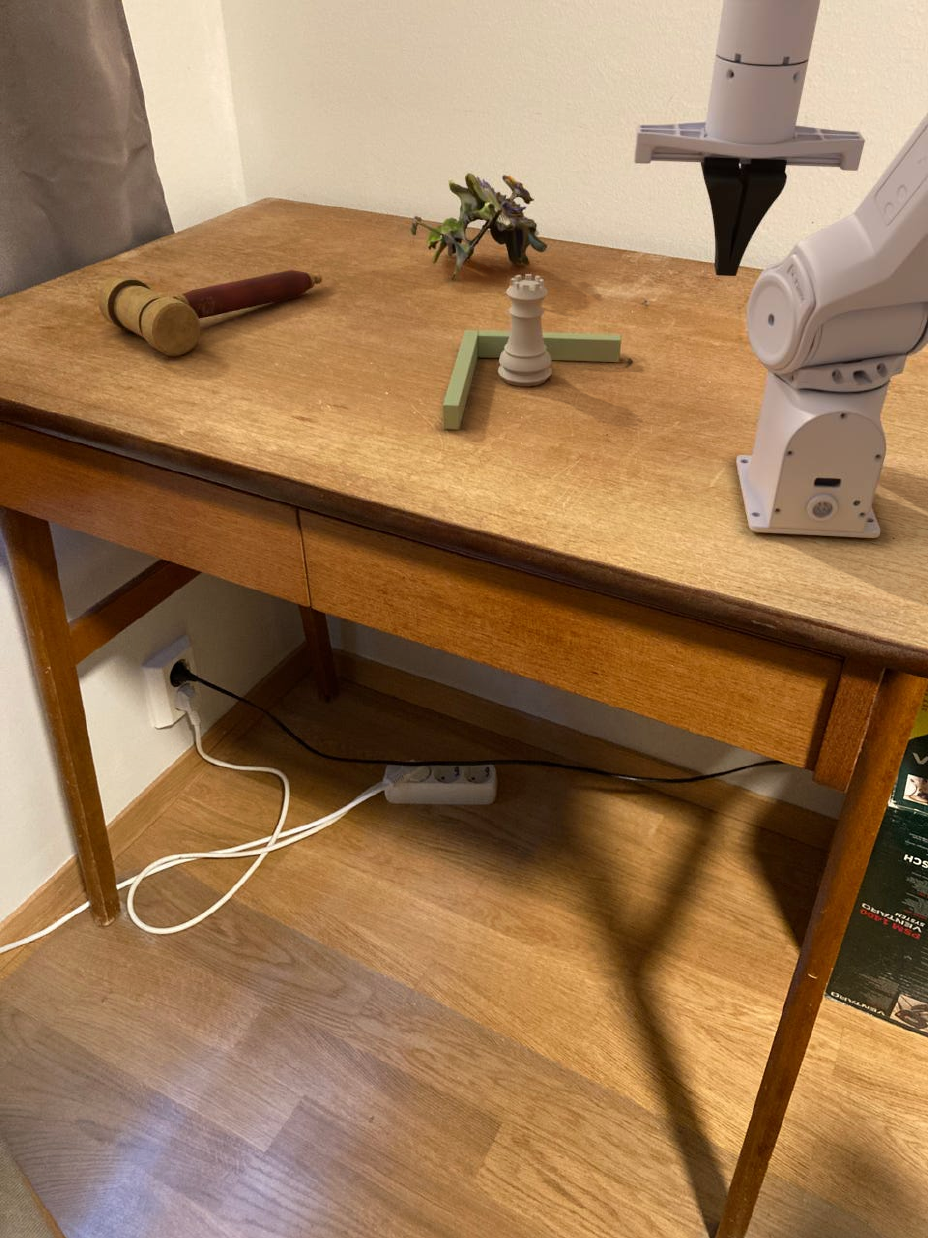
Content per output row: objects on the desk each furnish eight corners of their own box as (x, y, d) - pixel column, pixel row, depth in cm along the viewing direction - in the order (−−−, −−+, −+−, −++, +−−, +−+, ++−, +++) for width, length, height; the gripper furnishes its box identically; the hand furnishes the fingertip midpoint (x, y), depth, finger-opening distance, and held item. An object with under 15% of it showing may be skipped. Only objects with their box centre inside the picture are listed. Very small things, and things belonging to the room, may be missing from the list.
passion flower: (512, 316, 107) (576, 234, 98) (436, 323, 100) (497, 236, 91) (463, 233, 110) (521, 146, 100) (385, 235, 103) (439, 142, 94)
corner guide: (620, 436, 74) (622, 412, 73) (443, 429, 75) (442, 404, 74) (619, 356, 85) (621, 334, 84) (465, 351, 87) (465, 329, 85)
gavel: (290, 242, 100) (351, 266, 94) (293, 288, 103) (352, 314, 97) (93, 278, 88) (148, 308, 82) (102, 329, 91) (156, 361, 85)
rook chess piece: (488, 371, 83) (488, 275, 78) (535, 361, 85) (538, 266, 80) (513, 392, 80) (515, 293, 75) (561, 381, 82) (566, 283, 77)
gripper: (868, 45, 65) (820, 254, 74) (643, 40, 66) (622, 245, 75) (891, 70, 60) (836, 291, 68) (646, 63, 61) (623, 282, 70)
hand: (725, 270), depth 71 cm, fingers closed
